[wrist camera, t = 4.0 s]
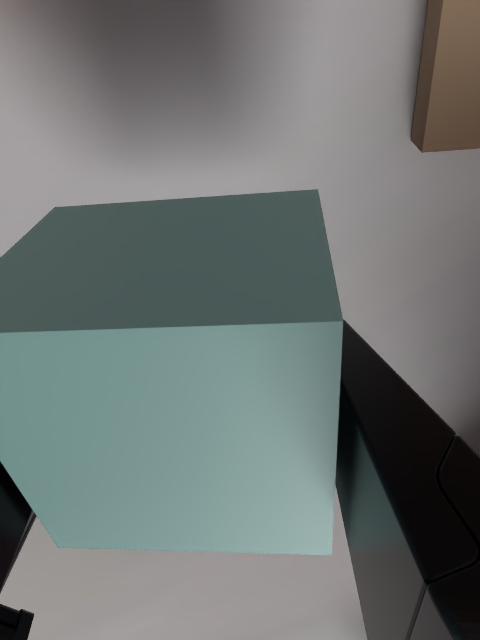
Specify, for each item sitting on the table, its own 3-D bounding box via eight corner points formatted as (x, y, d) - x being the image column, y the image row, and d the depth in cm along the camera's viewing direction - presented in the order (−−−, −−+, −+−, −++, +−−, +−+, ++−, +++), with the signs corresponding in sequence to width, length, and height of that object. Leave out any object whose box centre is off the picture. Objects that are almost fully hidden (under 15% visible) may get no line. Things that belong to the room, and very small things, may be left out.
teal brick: (316, 389, 11) (331, 555, 8) (120, 392, 11) (57, 547, 8) (317, 189, 8) (343, 321, 5) (55, 207, 9) (-84, 335, 5)
